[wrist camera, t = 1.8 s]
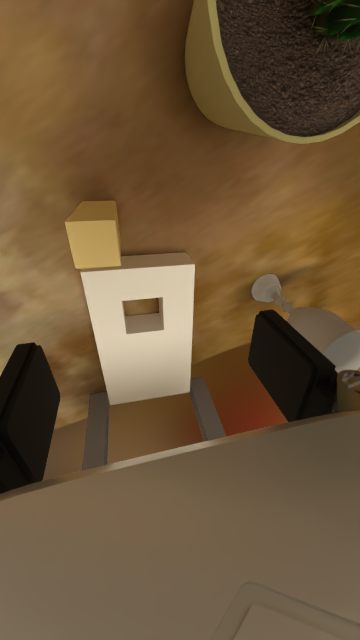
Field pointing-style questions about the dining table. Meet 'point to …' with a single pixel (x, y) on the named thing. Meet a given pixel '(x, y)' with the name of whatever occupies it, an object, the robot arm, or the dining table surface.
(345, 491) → the robot arm
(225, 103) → the potted cactus
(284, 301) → the chalice
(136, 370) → the socket block
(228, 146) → the dining table surface
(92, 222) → the peg
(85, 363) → the dining table surface
